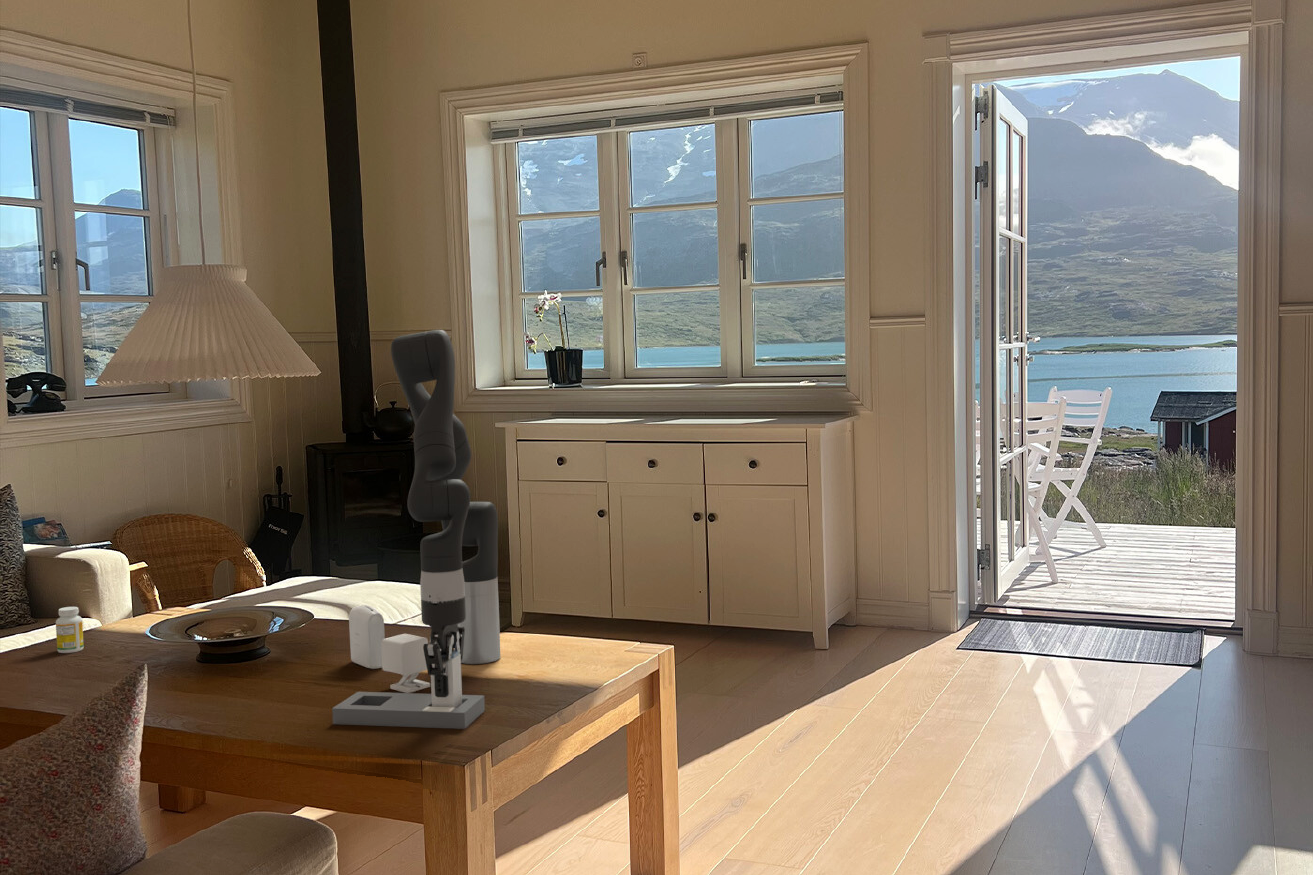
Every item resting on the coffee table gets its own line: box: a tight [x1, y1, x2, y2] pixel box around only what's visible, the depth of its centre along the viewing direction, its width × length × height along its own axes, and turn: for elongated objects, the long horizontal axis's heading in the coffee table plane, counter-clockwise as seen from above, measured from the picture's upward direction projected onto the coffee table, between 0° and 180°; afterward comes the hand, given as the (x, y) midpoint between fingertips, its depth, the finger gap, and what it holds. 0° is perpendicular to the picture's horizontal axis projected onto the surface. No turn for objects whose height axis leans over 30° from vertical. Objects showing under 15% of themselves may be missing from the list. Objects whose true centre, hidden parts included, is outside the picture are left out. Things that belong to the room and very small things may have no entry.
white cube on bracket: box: [381, 633, 431, 693], centre depth 219 cm, size 6×7×10 cm
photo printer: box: [348, 604, 385, 670], centre depth 239 cm, size 10×4×12 cm, turn 39°
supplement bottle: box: [55, 606, 85, 654], centre depth 258 cm, size 5×5×10 cm
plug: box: [430, 651, 463, 708], centre depth 199 cm, size 4×4×11 cm
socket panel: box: [331, 691, 486, 730], centre depth 200 cm, size 10×24×4 cm, turn 79°
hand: (446, 692), depth 199 cm, fingers closed on plug, 4 cm apart
